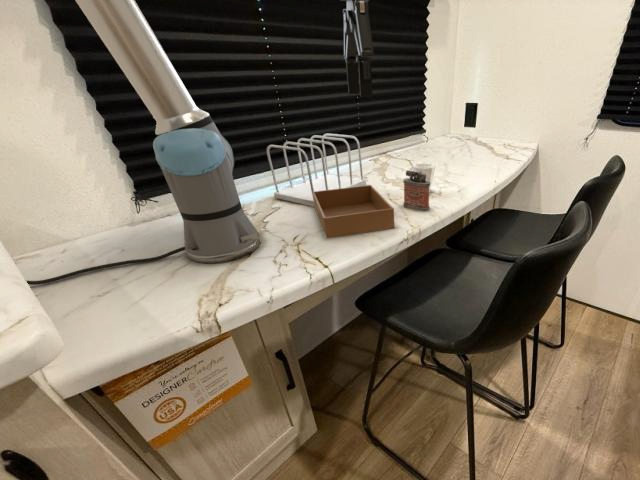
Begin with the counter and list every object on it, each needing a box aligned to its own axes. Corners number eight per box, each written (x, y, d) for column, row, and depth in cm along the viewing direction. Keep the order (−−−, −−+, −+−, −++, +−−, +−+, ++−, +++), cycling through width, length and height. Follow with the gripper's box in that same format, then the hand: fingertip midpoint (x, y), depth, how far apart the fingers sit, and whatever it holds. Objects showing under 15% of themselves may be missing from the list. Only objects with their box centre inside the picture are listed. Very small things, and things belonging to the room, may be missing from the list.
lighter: (431, 208, 93) (433, 171, 87) (425, 211, 90) (427, 174, 85) (407, 203, 96) (407, 168, 90) (401, 206, 94) (400, 170, 88)
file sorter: (328, 178, 119) (322, 131, 110) (366, 185, 111) (363, 135, 102) (274, 198, 102) (261, 143, 93) (315, 208, 94) (305, 149, 85)
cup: (423, 196, 101) (424, 169, 96) (401, 189, 107) (401, 163, 102) (438, 191, 105) (440, 165, 100) (417, 185, 111) (417, 160, 106)
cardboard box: (326, 238, 77) (323, 218, 74) (315, 209, 93) (312, 191, 90) (394, 227, 82) (393, 208, 79) (372, 201, 98) (370, 184, 95)
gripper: (387, -41, 58) (389, 98, 71) (357, -13, 78) (362, 92, 90) (346, -45, 56) (355, 99, 69) (325, -16, 76) (335, 92, 88)
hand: (359, 95), depth 79 cm, fingers open, 13 cm apart
